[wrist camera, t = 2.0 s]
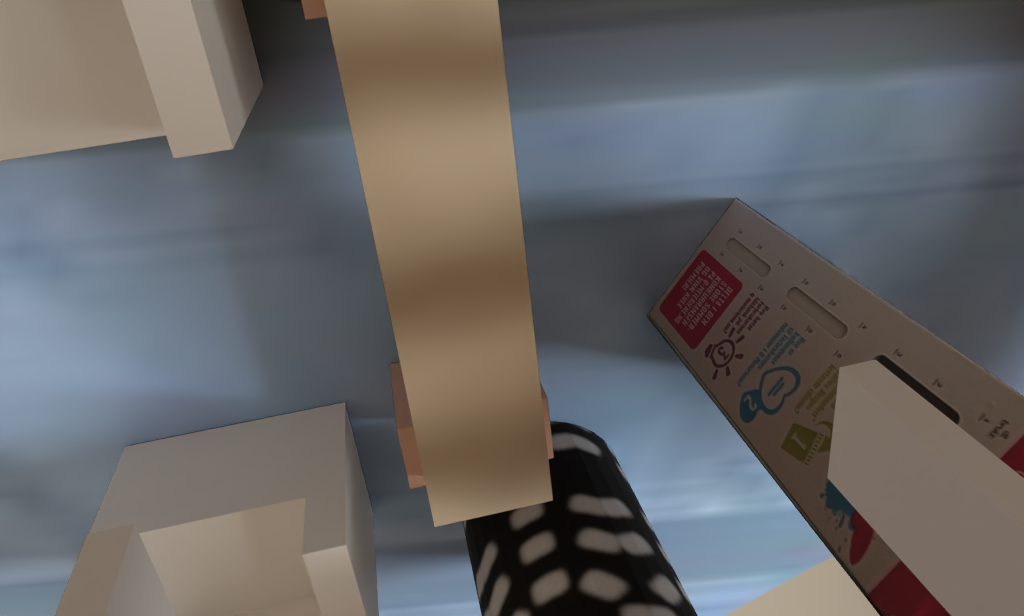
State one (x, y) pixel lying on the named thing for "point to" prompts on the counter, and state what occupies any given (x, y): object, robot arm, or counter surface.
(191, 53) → the end caps
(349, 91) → the birch slat
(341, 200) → the counter surface
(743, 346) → the juice carton
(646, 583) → the spotted tube
